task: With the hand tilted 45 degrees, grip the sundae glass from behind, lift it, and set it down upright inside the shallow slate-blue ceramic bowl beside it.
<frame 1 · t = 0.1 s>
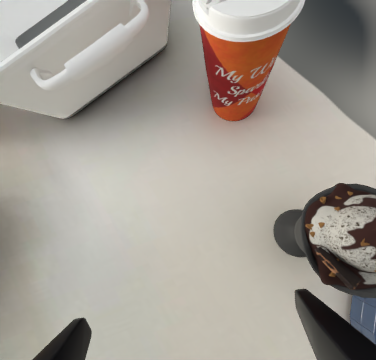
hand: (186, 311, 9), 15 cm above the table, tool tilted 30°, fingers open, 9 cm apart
paper cup: (234, 102, 27), on the table
tub: (91, 50, 32), on the table
sundae: (296, 232, 22), on the table
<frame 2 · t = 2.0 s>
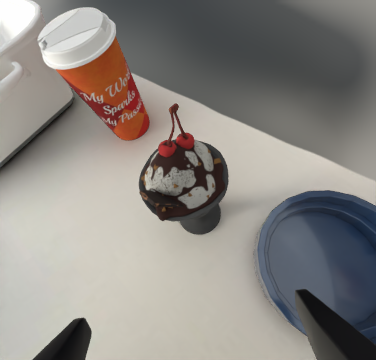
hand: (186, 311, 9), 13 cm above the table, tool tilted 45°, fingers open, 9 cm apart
paper cup: (133, 126, 32), on the table
tub: (15, 118, 38), on the table
bowl: (318, 263, 20), on the table
sundae: (199, 213, 24), on the table
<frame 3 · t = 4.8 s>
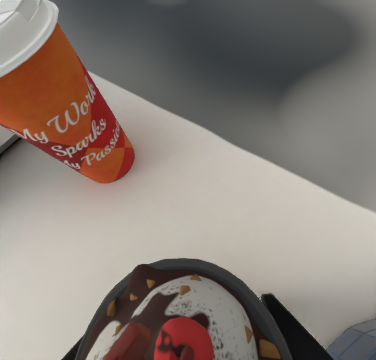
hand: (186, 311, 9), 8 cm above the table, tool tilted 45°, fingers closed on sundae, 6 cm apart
paper cup: (112, 160, 23), on the table
sundae: (207, 318, 15), on the table, touching gripper
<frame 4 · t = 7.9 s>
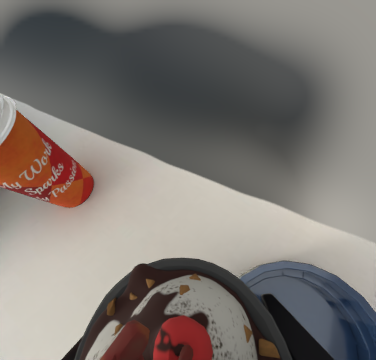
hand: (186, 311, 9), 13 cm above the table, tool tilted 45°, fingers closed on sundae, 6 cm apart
paper cup: (76, 188, 29), on the table
bowl: (288, 339, 18), on the table
sundae: (207, 317, 15), point 5 cm above the table, touching gripper
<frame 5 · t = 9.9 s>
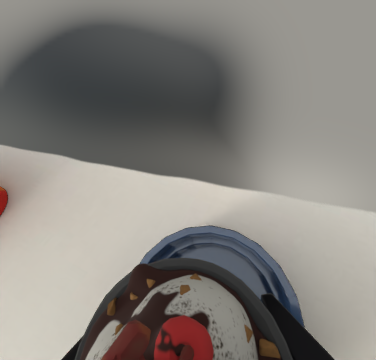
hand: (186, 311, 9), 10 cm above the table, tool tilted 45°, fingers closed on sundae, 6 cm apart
bowl: (210, 308, 17), on the table
sundae: (207, 317, 15), point 2 cm above the table, touching gripper
when the fingers open (8 cm above the table, at t = 11.1 s): sundae stays where it is, resting on bowl.
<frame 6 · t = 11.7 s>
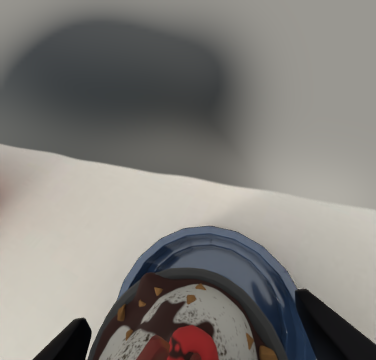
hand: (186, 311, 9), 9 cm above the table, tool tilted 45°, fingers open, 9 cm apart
bowl: (209, 316, 16), on the table
sundae: (208, 321, 15), resting on bowl
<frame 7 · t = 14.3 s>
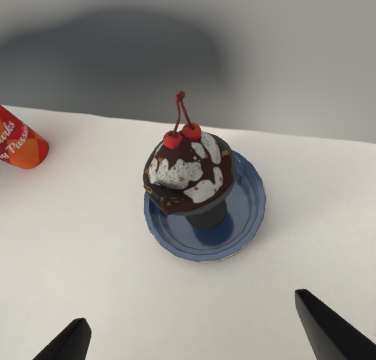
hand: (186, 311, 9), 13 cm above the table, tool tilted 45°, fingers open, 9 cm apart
paper cup: (34, 153, 33), on the table
bowl: (205, 206, 24), on the table
sundae: (204, 207, 24), resting on bowl
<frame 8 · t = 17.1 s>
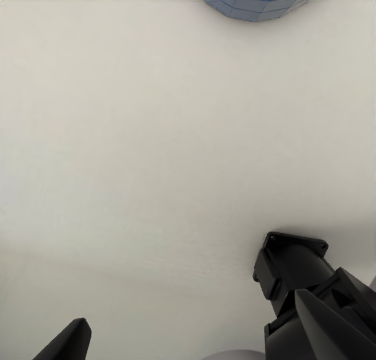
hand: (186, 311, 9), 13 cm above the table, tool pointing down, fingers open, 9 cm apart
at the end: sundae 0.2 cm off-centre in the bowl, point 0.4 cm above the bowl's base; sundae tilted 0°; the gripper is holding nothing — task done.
